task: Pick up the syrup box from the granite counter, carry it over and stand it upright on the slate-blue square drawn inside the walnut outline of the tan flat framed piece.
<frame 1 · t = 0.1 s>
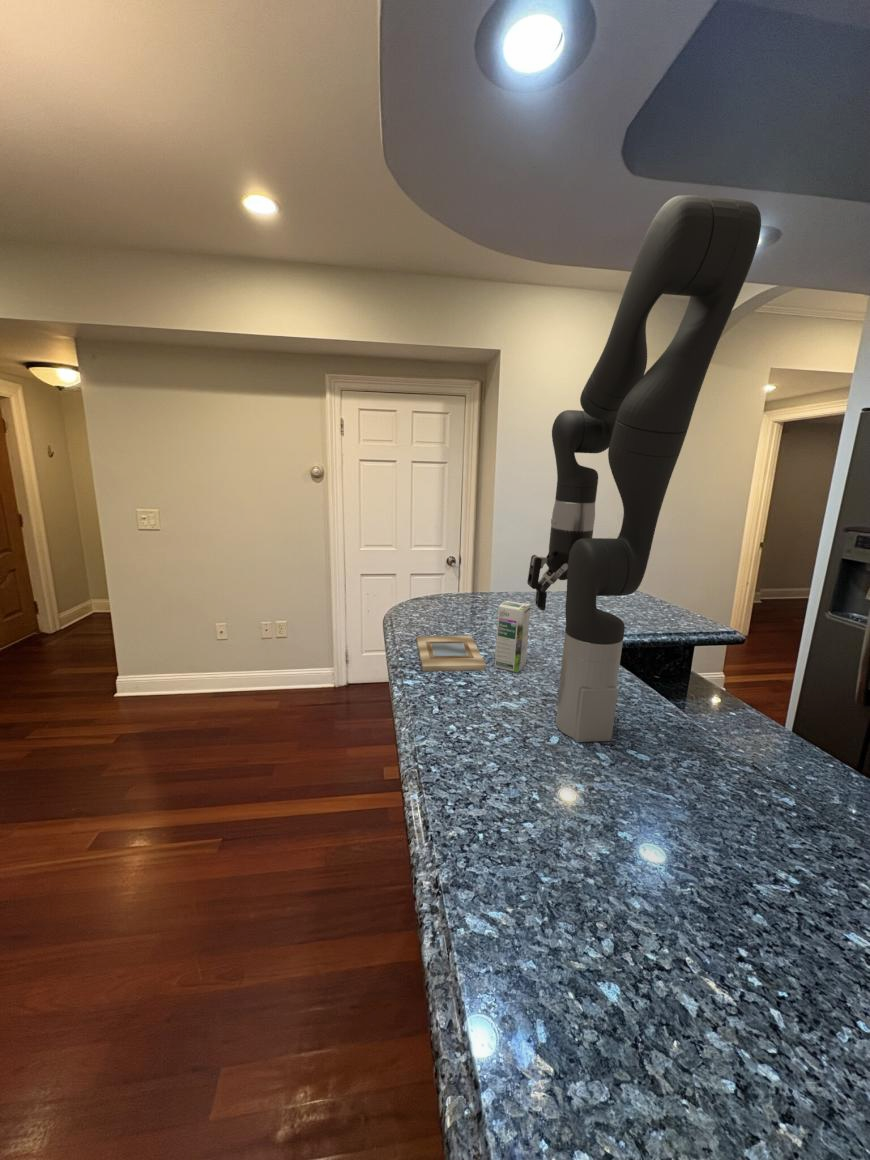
hand: (562, 609, 92), 17 cm above the counter, tool pointing down, fingers open, 8 cm apart
syrup box: (510, 666, 108), on the counter
tan flat framed piece: (448, 654, 113), on the counter
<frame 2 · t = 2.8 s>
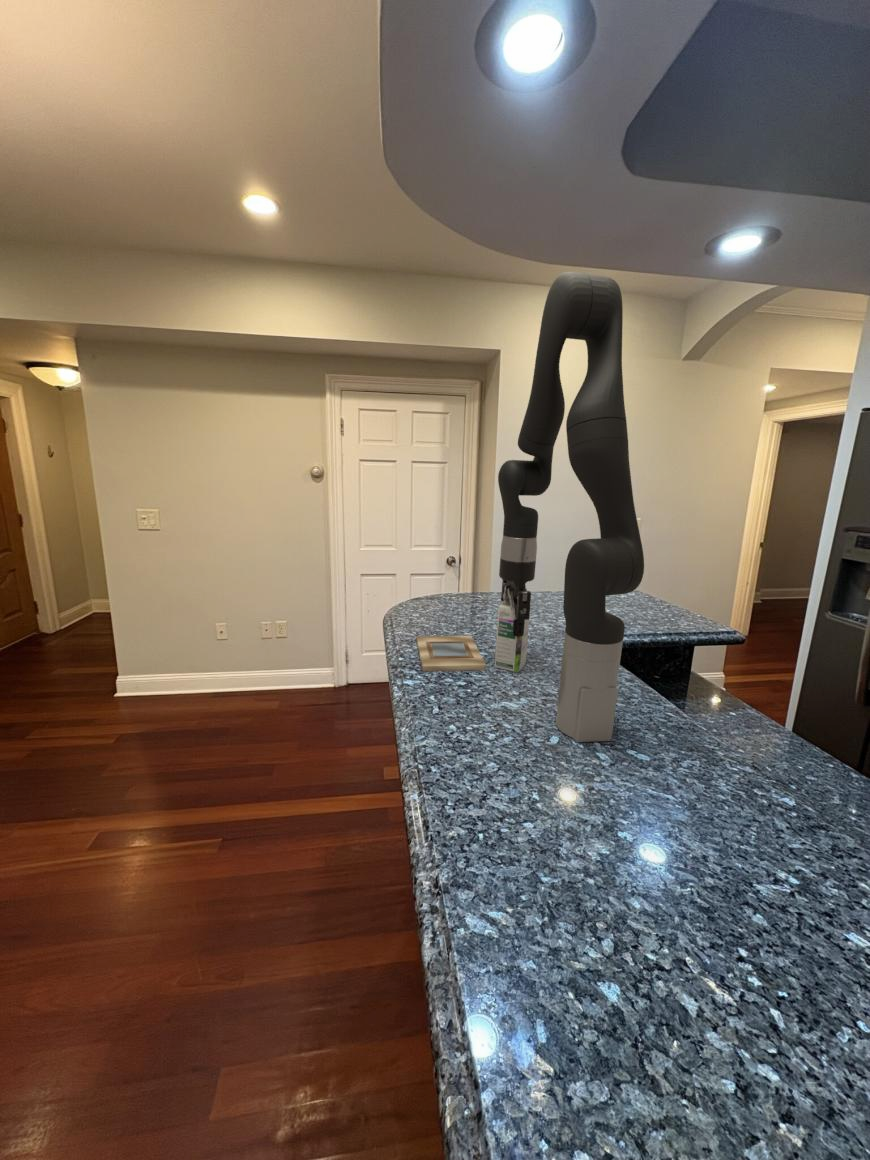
hand: (512, 629, 106), 9 cm above the counter, tool pointing down, fingers closed on syrup box, 8 cm apart
syrup box: (510, 666, 108), on the counter, touching gripper
when the fingers open (11 cm above the counter, at t = 8.7 s): syrup box stays where it is, resting on tan flat framed piece.
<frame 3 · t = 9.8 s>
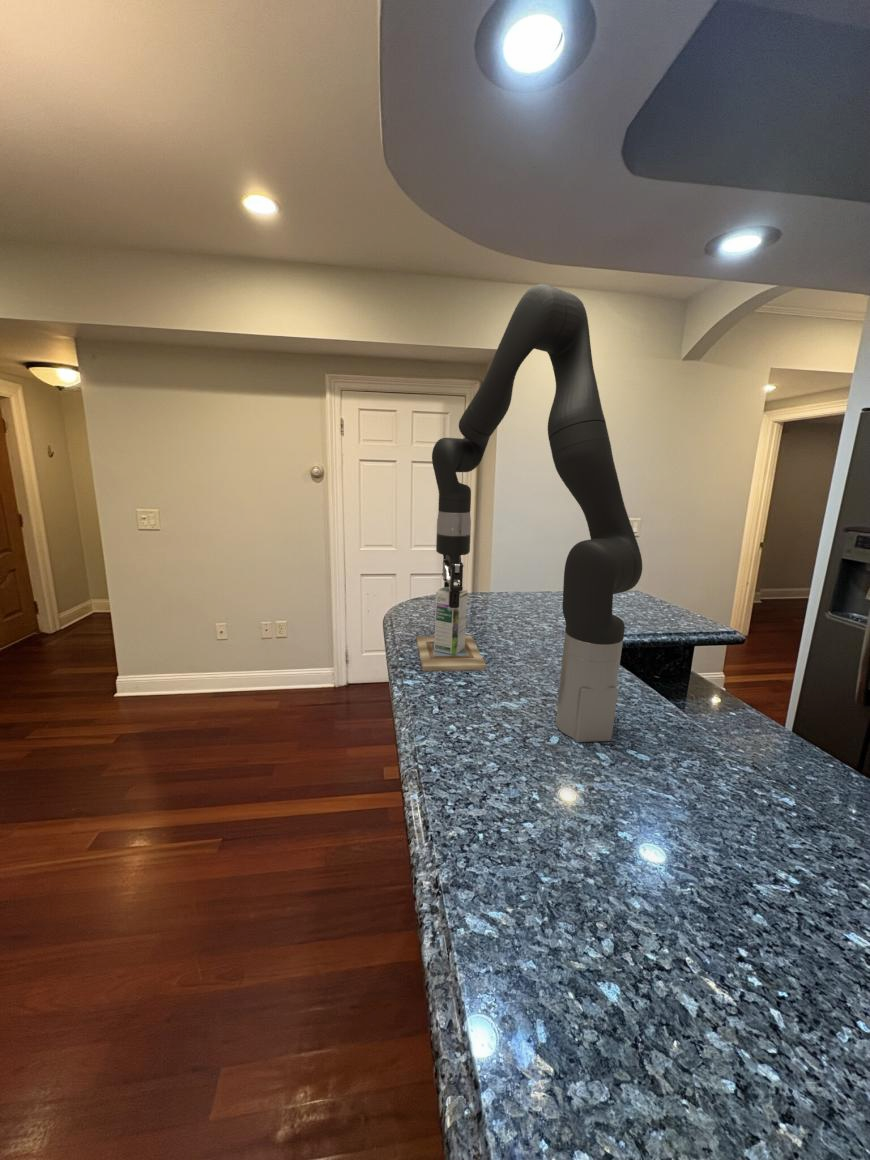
hand: (451, 602, 110), 13 cm above the counter, tool pointing down, fingers open, 8 cm apart
syrup box: (449, 650, 113), point 1 cm above the counter, touching tan flat framed piece, gripper
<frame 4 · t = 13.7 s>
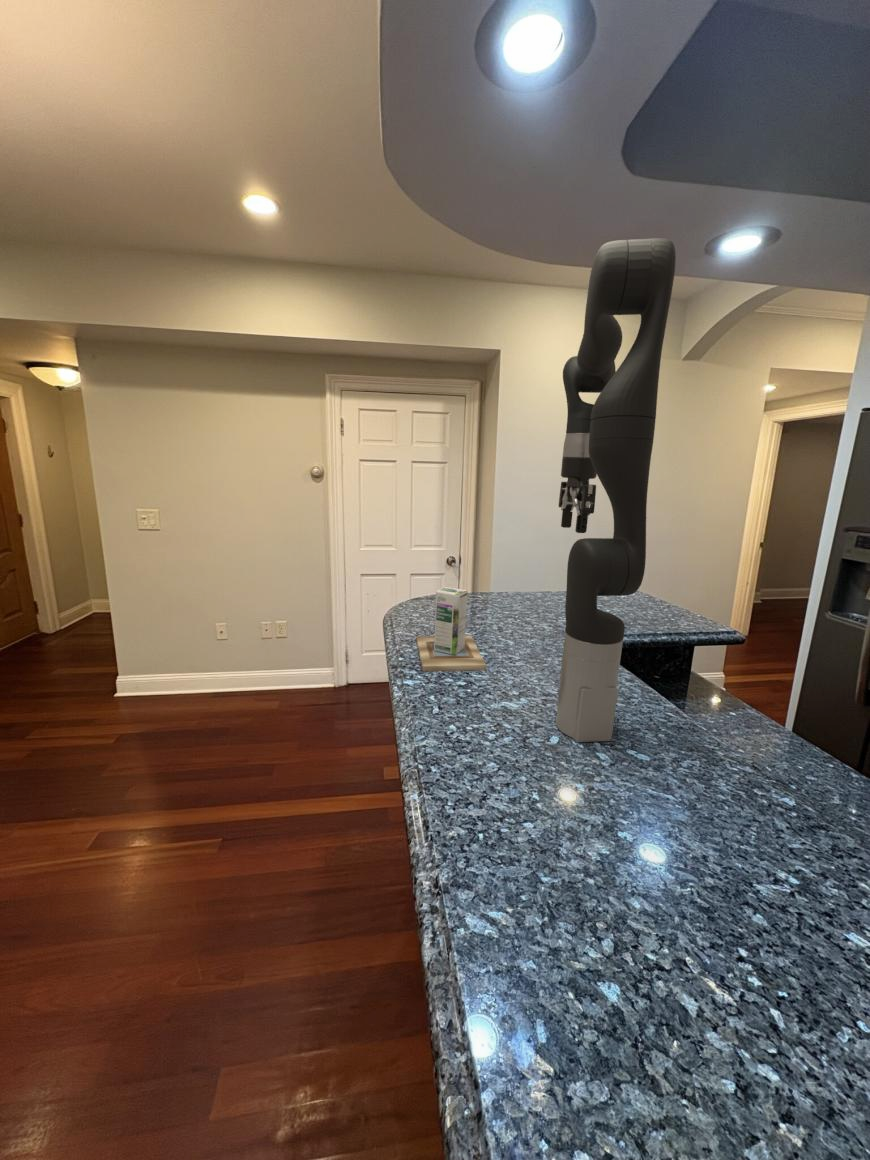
hand: (572, 530, 108), 30 cm above the counter, tool pointing down, fingers open, 8 cm apart
syrup box: (449, 650, 113), point 1 cm above the counter, touching tan flat framed piece
at the end: syrup box 0.1 cm off-centre on the tan flat framed piece, point 1.1 cm above the tan flat framed piece's base; syrup box tilted 0°; the gripper is holding nothing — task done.
